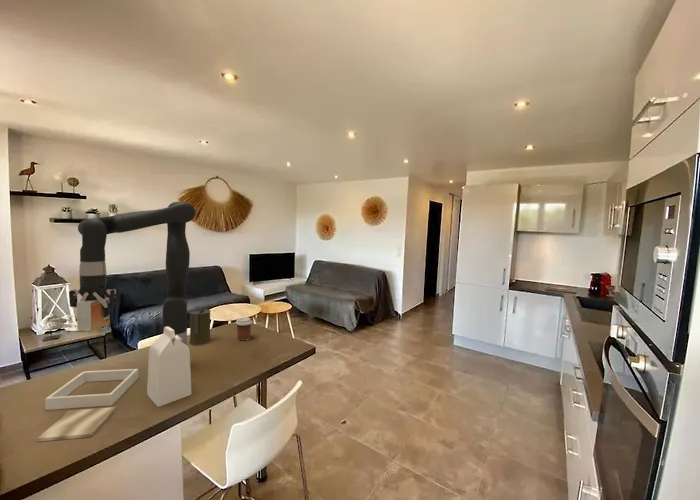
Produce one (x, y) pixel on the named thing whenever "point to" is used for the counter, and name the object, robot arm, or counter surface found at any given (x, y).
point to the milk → (168, 369)
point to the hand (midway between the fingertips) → (93, 317)
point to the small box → (91, 315)
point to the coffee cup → (243, 328)
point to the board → (77, 424)
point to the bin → (64, 402)
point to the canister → (199, 326)
